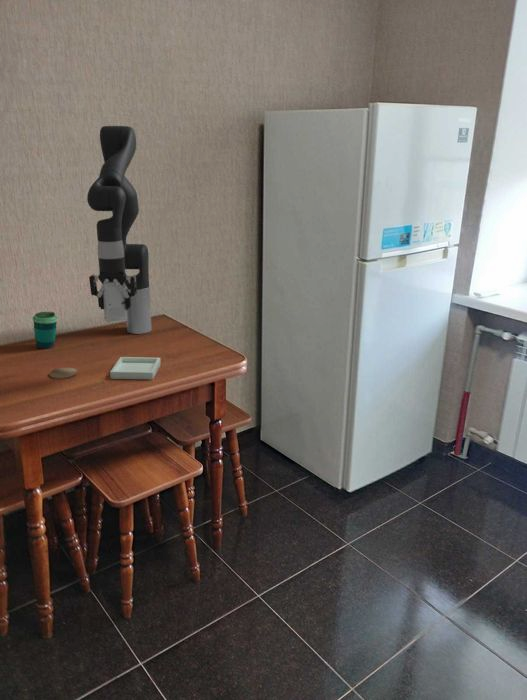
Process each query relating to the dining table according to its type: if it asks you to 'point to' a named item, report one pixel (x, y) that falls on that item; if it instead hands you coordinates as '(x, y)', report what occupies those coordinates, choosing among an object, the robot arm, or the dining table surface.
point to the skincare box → (114, 303)
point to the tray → (135, 368)
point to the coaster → (63, 373)
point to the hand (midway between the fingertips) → (115, 308)
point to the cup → (45, 329)
